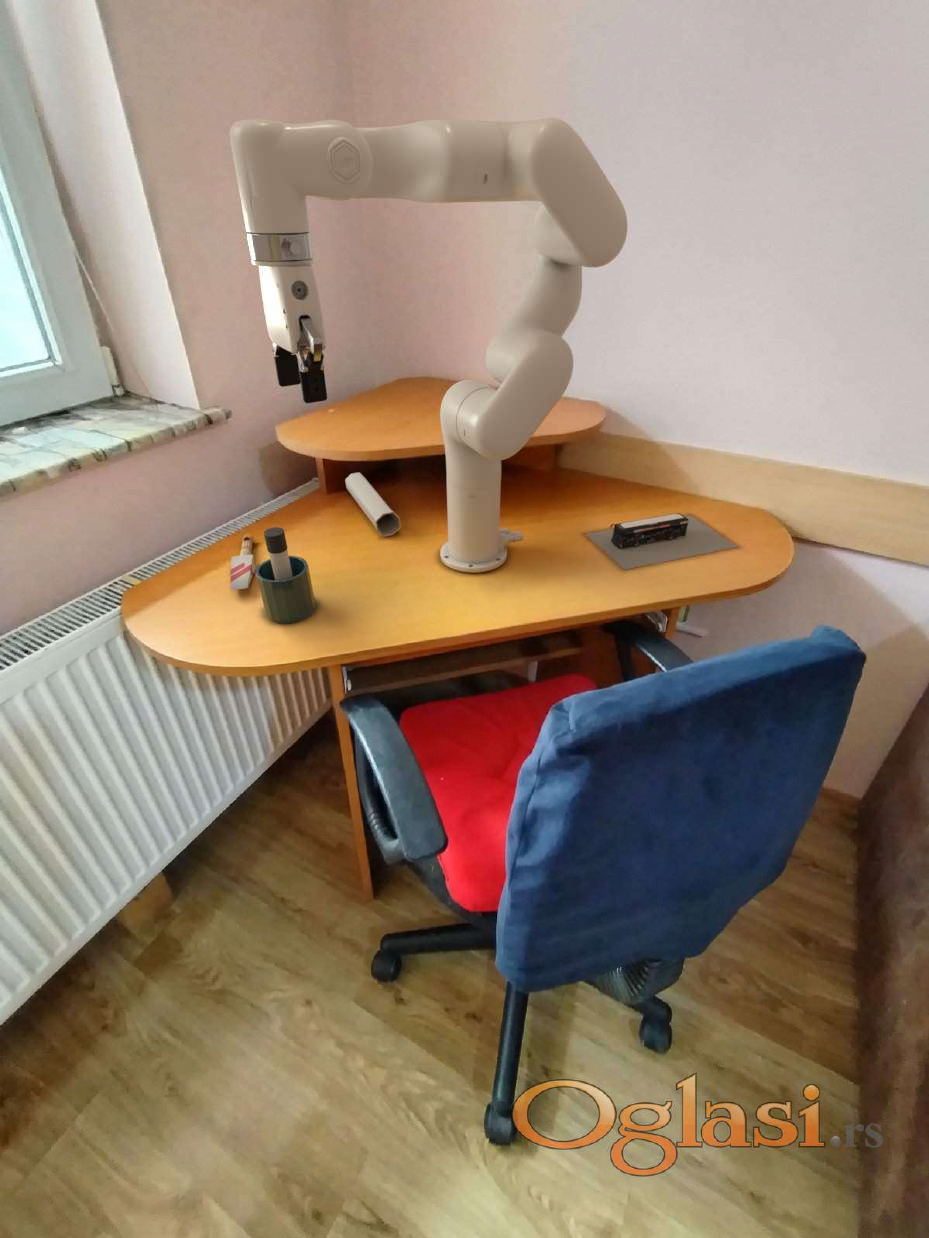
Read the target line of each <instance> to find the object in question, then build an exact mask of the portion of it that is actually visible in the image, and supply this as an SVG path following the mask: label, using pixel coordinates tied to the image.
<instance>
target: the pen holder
mask: <svg viewBox="0 0 929 1238" xmlns="http://www.w3.org/2000/svg"><path fill="white" fill-rule="evenodd" d="M289 560H290V565H291V570H292V575H293V577H292V578H289V579H285V580H275V577H274V573H273V568H272V564H271V560H270V558H268V559H267V560H265V561H263V562H261V563H260V564H259V565H257V566H256V570H255V572H254V573H255V576H256V580H257V584H258V588H259V592H260V596H261V600H262V604H263V607H264V612H265V615H266V617H267V619H268V620H269V621H271V622H274V623H276V624H283V625H284V624H294V623H298V622H301V621H304V620H306V619H308V618H309V617H310V616H312V614H313V613H314V612H315V610H316V601H315V600H316V599H315V594H314V589H313V584H312V579H311V575H310V574H311V573H310V568H309V564H308V561H307V560H306V559H304V558H302V557H301V556H295V555H289Z"/></svg>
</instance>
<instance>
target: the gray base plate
mask: <svg viewBox="0 0 929 1238" xmlns="http://www.w3.org/2000/svg"><path fill="white" fill-rule="evenodd" d="M613 526H614V527H613ZM609 528H610V529H606V530H602V531H601V530H600V531H595V532H589V533H586V534H585V535H586V536H587V537H588V538H589V539H591V540H592V541H593V542H594V543H595V544H596V545H597V546H598V548H600V549H601V550H602V551H603V552H605V553H606V555H608V556H609V557H610V558H611V559H612V560H613V561H614V562H615V563H616V564H617V565H619V566H620V567H621V568H622V570H629V569H635V568H639V567H645V566H650V565H655V564H659V563H664V562H669V561H675V560H680V559H685V558H690V557H694V556H700V555H705V554H710V553H714V552H715V553H716V552H719V551H725V550H730V549H735V548H738V546H737V545H736V544H734V543H733V542H731V540H728V539H727V538H725V537H724V536H723V535H721V534H720V533H719V532H717V531H716V530H714V529H712V528H711V527H709V526H708V525H707V524H705V523H704V522H702V521H701V520H699V518H697V517H695V516H694V515H692V514H691V515H683V513H680V512H676V513H670V514H664V515H658V516H653V517H649V518H641V519H636V520H631V521H624V522H619V523H611V524H610V527H609Z"/></svg>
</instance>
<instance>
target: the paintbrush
mask: <svg viewBox="0 0 929 1238" xmlns="http://www.w3.org/2000/svg"><path fill="white" fill-rule="evenodd" d="M241 542H242V543H241V548H240V553H239V555H236V556H235V555H233V556H231V557H230V591H235V590H243V589H248V588H249V586H250V583H251V581H252V579H253V576H254V574H255V573H256V572H255V571H256V569H257V565H256V563H255V559H254V554H252V549H253V544H254V543H253V542H254V537H253V536H252V535H251V534H245V535H243V537H242V541H241Z"/></svg>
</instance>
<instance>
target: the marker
mask: <svg viewBox="0 0 929 1238" xmlns="http://www.w3.org/2000/svg"><path fill="white" fill-rule="evenodd" d="M263 537H264V541H265V547H266V550H267V552H268V555H269V559H270V560H271V564H272V568H273V573H274V577H275V580H285V579H289V578H292V577H293V575H292V570H291V565H290V560H289V556H290V554H289V551H288V544H287V538H286V533H285V530H284V529H283V527H277V526H276V527H275V526H274V527H269V528H267V529H265V530H264V531H263Z"/></svg>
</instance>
